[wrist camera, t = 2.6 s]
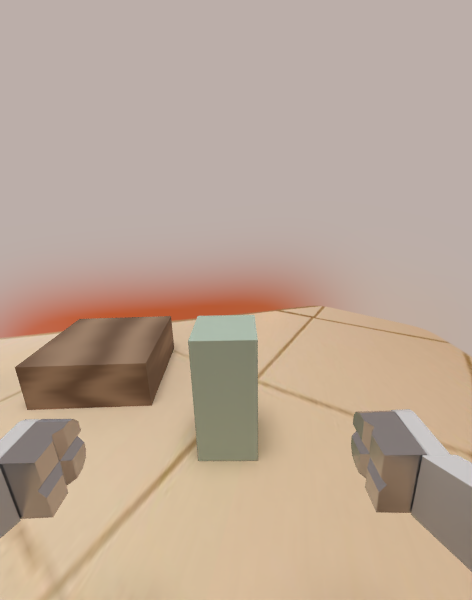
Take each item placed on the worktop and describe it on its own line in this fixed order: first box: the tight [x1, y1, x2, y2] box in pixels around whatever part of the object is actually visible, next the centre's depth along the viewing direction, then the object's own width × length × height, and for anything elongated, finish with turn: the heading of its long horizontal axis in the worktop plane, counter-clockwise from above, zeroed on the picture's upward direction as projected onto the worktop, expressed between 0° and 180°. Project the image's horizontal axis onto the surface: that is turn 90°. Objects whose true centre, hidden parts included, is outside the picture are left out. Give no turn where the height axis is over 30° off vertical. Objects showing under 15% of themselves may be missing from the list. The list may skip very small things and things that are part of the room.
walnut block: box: [15, 316, 174, 410], centre depth 33 cm, size 12×12×5 cm
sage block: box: [188, 315, 258, 461], centre depth 22 cm, size 4×4×10 cm
